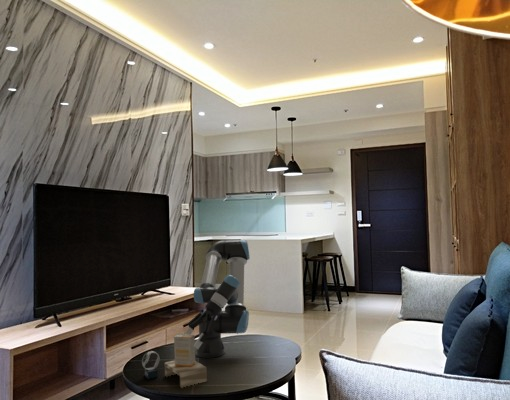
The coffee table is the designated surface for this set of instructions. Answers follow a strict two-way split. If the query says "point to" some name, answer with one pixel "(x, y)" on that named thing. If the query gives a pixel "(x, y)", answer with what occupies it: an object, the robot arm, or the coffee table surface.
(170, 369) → the grooved beige block
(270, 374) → the coffee table surface
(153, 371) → the watch
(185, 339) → the supplement box
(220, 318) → the robot arm
